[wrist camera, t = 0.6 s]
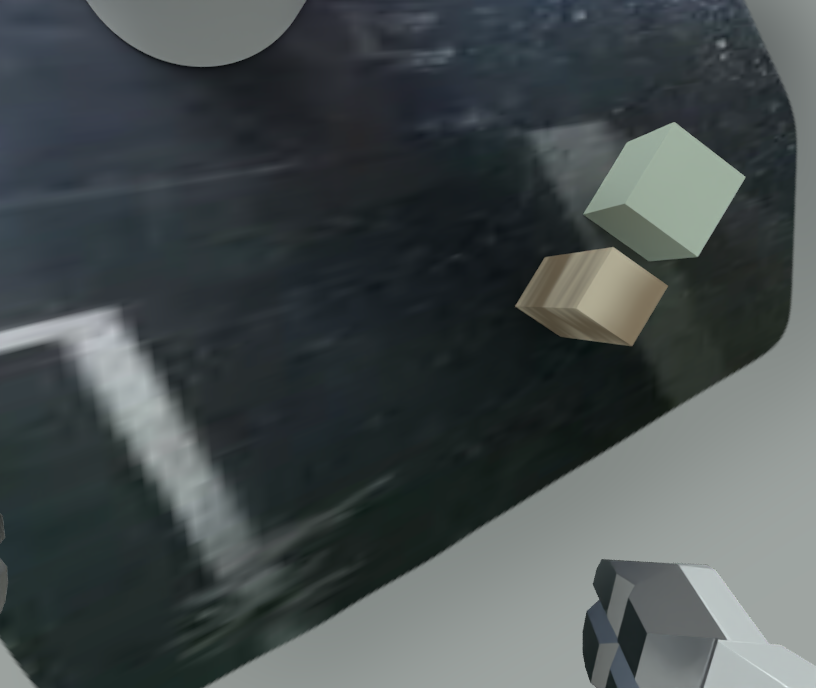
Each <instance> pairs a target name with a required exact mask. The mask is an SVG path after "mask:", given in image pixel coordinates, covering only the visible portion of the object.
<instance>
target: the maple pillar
mask: <svg viewBox="0 0 816 688" xmlns="http://www.w3.org/2000/svg"><path fill="white" fill-rule="evenodd" d="M667 287H668V286H667V285H666V284H665V283H663V282H662V281H660V280H659V279H658V278H656V277H655V276H653V275H652V274H651V273H649V272H648V271H646V270H645V269H643V268H642V267H641V266H639V265H638V264H636V263H635V262H634V261H632V260H631V259H629V258H628V257H627V256H625V255H624V254H622V253H621V252H620V251H618V250H617V249H615V248H614V247H610V248H604V249H597V250H590V251H584V252H577V253H570V254H563V255H557V256H550V257H545V258H544V259H543V261H542V263H541V264H540V266H539V268H538V269H537V271H536V273H535V274H534V276H533V277H532V279H531V281H530V282H529V284H528V286H527V287H526V289H525V291H524V292H523V294H522V296H521V297H520V299H519V300H518V302H517V304H516V305H515V307H517V308H518V309H520V310H521V311H523V312H524V313H526V314H527V315H529V316H530V317H532V318H533V319H535V320H536V321H538V322H539V323H541V324H542V325H544V326H545V327H547V328H548V329H550V330H551V331H553V332H554V333H556V334H557V335H559V336H560V337H566V338H574V339H581V340H589V341H596V342H604V343H612V344H619V345H627V346H632V345H633V344H634V342H635V340H636V339H637V337H638V335H639V334H640V332H641V330H642V329H643V327H644V325H645V324H646V322H647V320H648V319H649V317H650V315H651V314H652V312H653V310H654V309H655V307H656V305H657V304H658V302H659V300H660V299H661V297H662V295H663V294H664V292H665V290H666V289H667Z"/></svg>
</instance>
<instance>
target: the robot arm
mask: <svg viewBox="0 0 816 688" xmlns="http://www.w3.org/2000/svg"><path fill="white" fill-rule="evenodd" d="M86 1H87V2H88V3H89V5H90V6H91V8H92V9H93V10H94V12H95V13H96V14H97V15H98V17H99V18H100V19H101V20H102V21H103V22H104V23H105V24H106V25H107V26H108V27H109V28H110V29H111V30H112V31H113V32H114V33H115V34H117V35H118V36H119V37H120V38H121V39H123V40H124V41H126V42H127V43H128V44H130V45H131V46H133V47H135V48H136V49H138V50H140V51H142V52H144V53H146V54H148V55H150V56H153V57H155V58H158V59H160V60H163V61H167V62H170V63H174V64H179V65H185V66H195V67H211V66H220V65H226V64H230V63H235V62H238V61H241V60H244V59H246V58H249V57H251V56H253V55H255V54H257V53H259V52H260V51H262V50H264V49H265V48H267V47H268V46H269V45H271V44H272V43H273V42H274V41H276V40H277V39H278V38H279V37H280V36H281V35H282V34H283V33H284V32H285V31H286V30H287V29H288V27H289V26H290V25H291V23H292V22H293V21H294V19H295V18H296V16H297V15H298V13H299V11H300V10H301V8H302V7H303V5H304V3H305V2H306V1H307V0H86ZM4 538H5V533H4V524H3V516H2V515H1V514H0V543H1V542H2V541H3V539H4ZM7 585H8V577H7V566H6V565H5V564H4V563H3V561H2V560H1V559H0V613H1V611H2V608H3V606H4V603H5V599H6V592H7ZM593 586H594V588H595V590H596V593H597V595H598V597H599V601H598V602H596V603H595V604H594V605H593V606H592V607H591V608H590V609H589V610H588V611H587V613H586V618H585V623H584V629H583V657H584V662H585V668H586V671H587V674H588V677H589V680H590V682H591V683H592V684H593V685H594V686H595V687H596V688H816V666H814V665H813V664H811V663H810V662H808V661H806V660H805V659H803V658H802V657H800V656H798V655H797V654H795V653H793V652H792V651H790V650H789V649H787V648H785V647H784V646H782V645H779V644H769V642H768V641H767V640H766V639H765V637H764V636H763V634H762V633H761V632H760V630H759V629H758V628H757V626H756V625H755V623H754V622H753V621H752V619H751V618H750V616H749V615H748V614H747V612H746V611H745V610H744V608H743V607H742V606H741V604H740V603H739V601H738V600H737V599H736V597H735V596H734V595H733V593H732V592H731V591H730V589H729V588H728V586H727V585H726V584H725V582H724V581H723V580H722V578H721V577H720V575H719V574H718V573H717V571H716V570H715V569H714V568H712V567H710V566H708V565H706V564H683V563H654V562H639V561H623V560H604V559H602V560H601V562H600V564H599V566H598V567H597V570H596V574H595V578H594V583H593Z"/></svg>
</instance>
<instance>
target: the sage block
mask: <svg viewBox="0 0 816 688" xmlns="http://www.w3.org/2000/svg"><path fill="white" fill-rule="evenodd" d="M744 179H745V176H744V175H742V174H741V173H740V172H738V171H737V170H736V169H734V168H733V167H732V166H731V165H729V164H728V163H727V162H725V161H724V160H723V159H722V158H720V157H719V156H718V155H716V154H715V153H714V152H713V151H711V150H710V149H709V148H707V147H706V146H705V145H703V144H702V143H701V142H700V141H698V140H697V139H696V138H694V137H693V136H692V135H691V134H689V133H688V132H687V131H685V130H684V129H683V128H681V127H680V126H679V125H678V124H676V123H675V122H673V123H671V124H668V125H666V126H664V127H662V128H659V129H657V130H655V131H652V132H650V133H648V134H645V135H643V136H641V137H638V138H636V139H634V140H631V141H629V142H627V143H626V145H625V147H624V148H623V150H622V152H621V153H620V155H619V156H618V158H617V160H616V161H615V163H614V165H613V166H612V168H611V170H610V171H609V173H608V174H607V176H606V178H605V179H604V181H603V183H602V184H601V186H600V188H599V189H598V191H597V193H596V194H595V196H594V197H593V199H592V201H591V202H590V204H589V206H588V207H587V209H586V211H585V212H584V214H583V215H585V216H586V217H587V218H589V219H590V220H592V221H593V222H594V223H596V224H597V225H599V226H600V227H601V228H603V229H604V230H606V231H607V232H608V233H610V234H611V235H613V236H614V237H615V238H617V239H618V240H620V241H621V242H622V243H624V244H625V245H627V246H628V247H629V248H631V249H632V250H634V251H635V252H636V253H638V254H639V255H641V256H642V257H643V258H645V259H646V260H648V261H659V260H670V259H681V258H691V257H698V256H699V254H700V253H701V251H702V249H703V248H704V246H705V244H706V243H707V241H708V239H709V238H710V236H711V234H712V233H713V231H714V229H715V228H716V226H717V224H718V223H719V221H720V219H721V218H722V216H723V214H724V213H725V211H726V209H727V208H728V206H729V204H730V202H731V201H732V199H733V197H734V196H735V194H736V192H737V191H738V189H739V187H740V186H741V184H742V182H743V181H744Z"/></svg>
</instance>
